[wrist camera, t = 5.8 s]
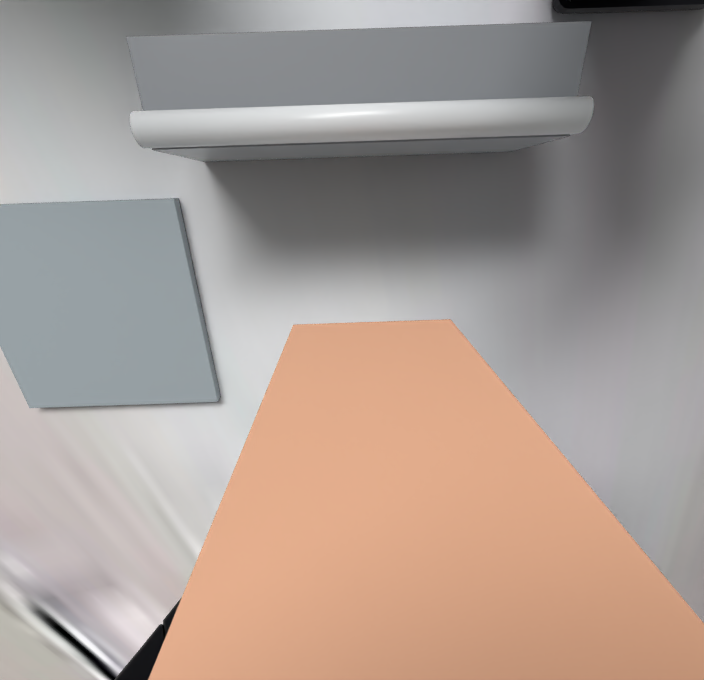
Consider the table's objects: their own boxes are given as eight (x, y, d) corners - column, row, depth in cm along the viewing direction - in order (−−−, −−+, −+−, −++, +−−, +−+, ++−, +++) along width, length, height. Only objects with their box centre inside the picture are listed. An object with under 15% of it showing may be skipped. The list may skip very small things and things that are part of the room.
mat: (178, 198, 16) (173, 198, 16) (220, 397, 21) (217, 401, 20) (-55, 206, 16) (-67, 206, 16) (36, 403, 20) (29, 408, 20)
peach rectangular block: (450, 319, 9) (1009, 990, 1) (433, 516, 11) (589, 1095, 4) (293, 324, 9) (4, 1030, 1) (313, 520, 11) (254, 1108, 4)
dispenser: (521, 70, 14) (615, 3, 9) (510, 151, 16) (589, 131, 11) (189, 81, 14) (104, 20, 9) (203, 161, 16) (135, 146, 11)
